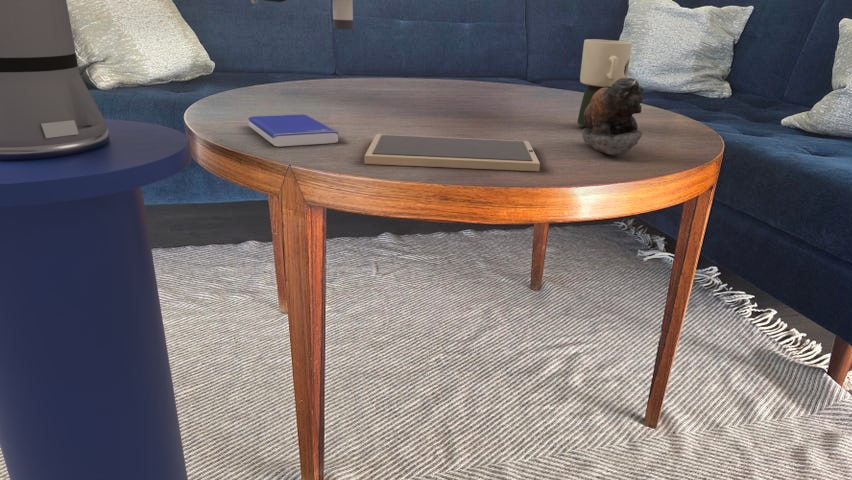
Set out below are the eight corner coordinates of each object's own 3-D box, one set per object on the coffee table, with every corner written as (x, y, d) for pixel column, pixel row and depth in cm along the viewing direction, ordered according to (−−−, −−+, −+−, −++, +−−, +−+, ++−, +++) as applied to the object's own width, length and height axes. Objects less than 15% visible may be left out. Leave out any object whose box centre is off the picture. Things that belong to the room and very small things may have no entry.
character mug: (629, 136, 97) (643, 45, 92) (583, 134, 96) (594, 42, 91) (609, 122, 107) (620, 39, 102) (567, 121, 106) (576, 37, 101)
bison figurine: (570, 141, 91) (578, 67, 87) (618, 142, 92) (628, 69, 88) (595, 162, 80) (605, 78, 76) (649, 163, 81) (662, 80, 77)
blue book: (338, 130, 81) (307, 113, 91) (272, 134, 77) (247, 116, 87) (338, 142, 82) (308, 124, 92) (273, 147, 78) (248, 127, 88)
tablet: (364, 164, 73) (364, 154, 72) (376, 141, 84) (376, 133, 84) (539, 171, 74) (540, 162, 74) (528, 148, 85) (528, 140, 85)
